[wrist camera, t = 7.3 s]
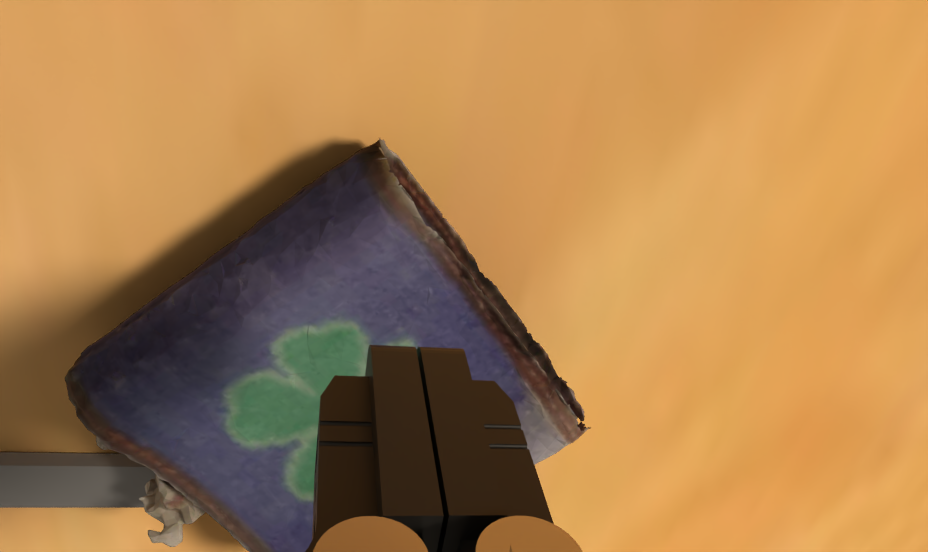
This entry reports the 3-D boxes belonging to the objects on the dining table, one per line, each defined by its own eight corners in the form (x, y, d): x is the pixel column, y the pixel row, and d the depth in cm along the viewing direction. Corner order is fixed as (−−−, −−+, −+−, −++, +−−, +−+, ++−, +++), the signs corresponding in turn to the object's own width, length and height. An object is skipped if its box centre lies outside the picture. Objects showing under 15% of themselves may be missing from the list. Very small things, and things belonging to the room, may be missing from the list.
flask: (603, 449, 18) (262, 655, 20) (573, 383, 21) (274, 570, 22) (377, 152, 14) (-22, 435, 16) (375, 118, 17) (33, 364, 19)
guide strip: (389, 457, 22) (390, 469, 21) (384, 495, 22) (385, 507, 22) (-248, 448, 19) (-262, 462, 18) (-231, 493, 19) (-244, 507, 19)
